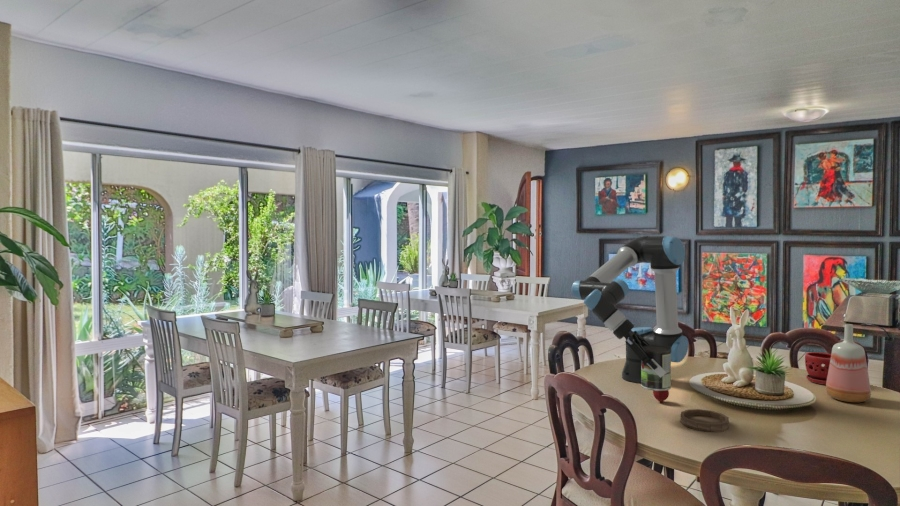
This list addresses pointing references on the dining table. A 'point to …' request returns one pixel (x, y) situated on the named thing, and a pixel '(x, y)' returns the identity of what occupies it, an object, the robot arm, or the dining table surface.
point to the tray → (704, 420)
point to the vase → (848, 371)
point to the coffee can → (649, 376)
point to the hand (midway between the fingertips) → (664, 371)
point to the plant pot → (817, 366)
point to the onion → (661, 395)
